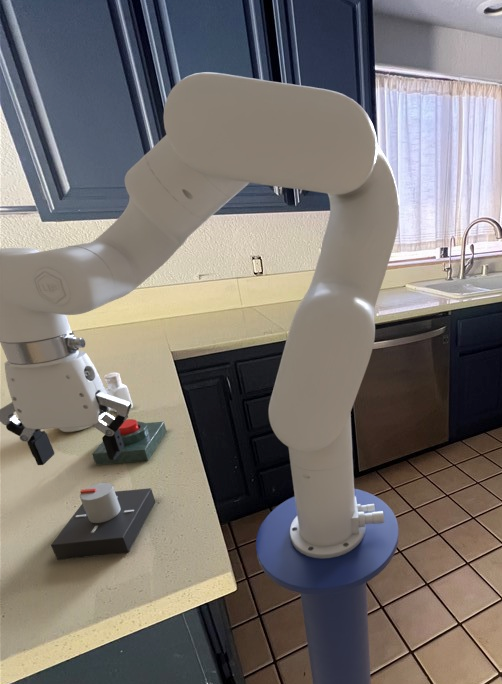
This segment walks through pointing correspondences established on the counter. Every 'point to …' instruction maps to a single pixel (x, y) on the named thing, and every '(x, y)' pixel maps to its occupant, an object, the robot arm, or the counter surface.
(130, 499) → the panel
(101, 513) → the hob knob
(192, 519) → the counter surface
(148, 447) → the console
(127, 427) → the button
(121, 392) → the small white square bottle
